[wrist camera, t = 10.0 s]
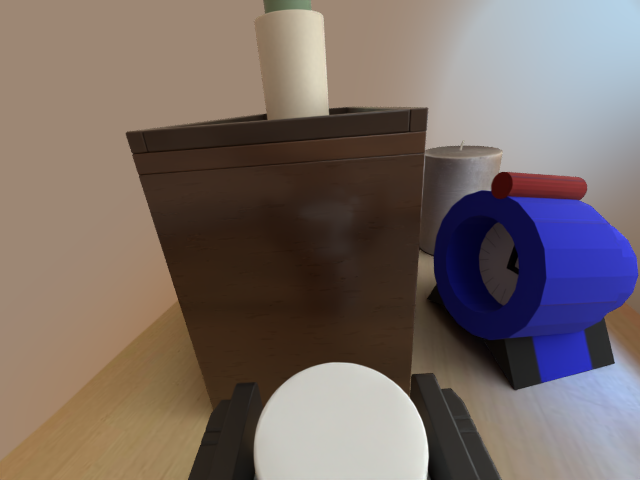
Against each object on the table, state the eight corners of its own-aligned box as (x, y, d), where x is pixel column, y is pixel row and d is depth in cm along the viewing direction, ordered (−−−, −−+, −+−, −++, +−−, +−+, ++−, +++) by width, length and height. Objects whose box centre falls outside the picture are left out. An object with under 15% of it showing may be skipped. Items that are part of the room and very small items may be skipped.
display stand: (408, 410, 22) (428, 107, 14) (216, 420, 22) (124, 132, 14) (355, 231, 53) (352, 106, 45) (276, 236, 53) (258, 114, 45)
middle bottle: (308, 125, 26) (296, -25, 22) (255, 127, 29) (235, -5, 25) (339, 119, 31) (334, -5, 26) (291, 122, 33) (279, 10, 29)
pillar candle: (455, 228, 51) (465, 134, 45) (503, 251, 42) (524, 139, 36) (403, 239, 48) (407, 141, 42) (443, 266, 40) (456, 148, 34)
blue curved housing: (421, 300, 33) (431, 162, 27) (517, 280, 35) (547, 148, 29) (505, 392, 22) (554, 197, 16) (638, 356, 24) (725, 170, 18)
